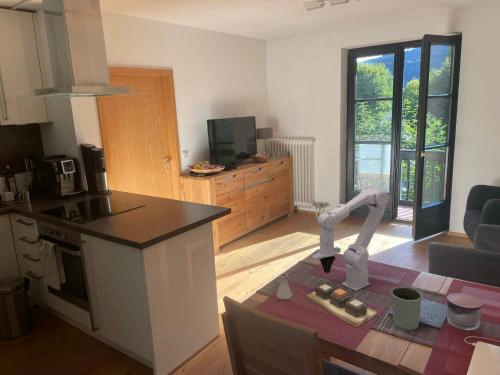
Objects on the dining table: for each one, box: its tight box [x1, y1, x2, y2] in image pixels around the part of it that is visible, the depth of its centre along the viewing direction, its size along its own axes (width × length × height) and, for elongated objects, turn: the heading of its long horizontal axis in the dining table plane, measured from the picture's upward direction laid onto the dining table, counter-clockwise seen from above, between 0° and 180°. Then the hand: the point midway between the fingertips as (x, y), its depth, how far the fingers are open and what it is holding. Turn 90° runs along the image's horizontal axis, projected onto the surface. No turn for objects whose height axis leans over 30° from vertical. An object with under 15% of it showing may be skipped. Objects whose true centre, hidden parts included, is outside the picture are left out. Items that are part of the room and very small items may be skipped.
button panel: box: [305, 282, 378, 328], centre depth 146 cm, size 12×26×5 cm, turn 34°
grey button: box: [349, 298, 363, 308], centre depth 139 cm, size 4×4×3 cm
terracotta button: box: [333, 288, 348, 299], centre depth 145 cm, size 4×4×3 cm
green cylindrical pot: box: [390, 286, 423, 331], centre depth 133 cm, size 10×10×12 cm
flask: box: [275, 272, 294, 301], centre depth 155 cm, size 7×7×10 cm
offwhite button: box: [319, 283, 332, 291], centre depth 152 cm, size 4×4×3 cm
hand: (326, 272), depth 155 cm, fingers closed
